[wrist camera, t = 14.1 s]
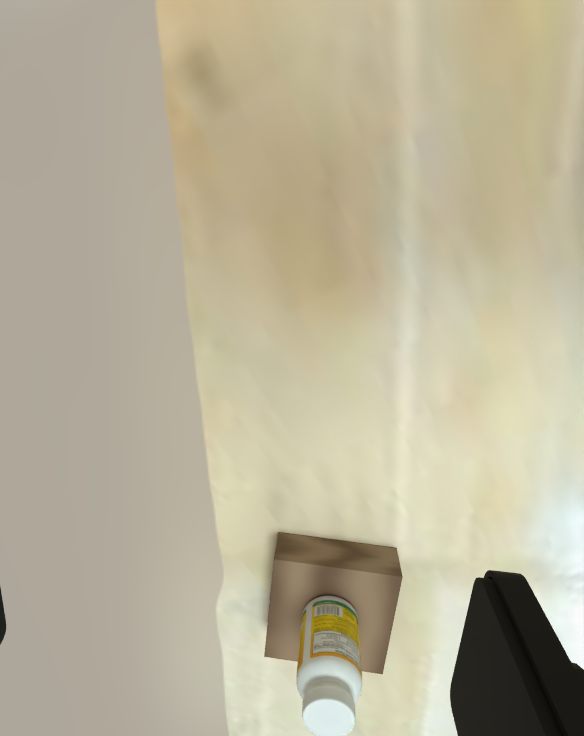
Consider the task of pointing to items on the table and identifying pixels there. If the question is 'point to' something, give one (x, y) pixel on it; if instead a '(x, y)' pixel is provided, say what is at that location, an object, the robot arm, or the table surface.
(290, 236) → the table surface
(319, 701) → the supplement bottle
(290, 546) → the walnut stand
